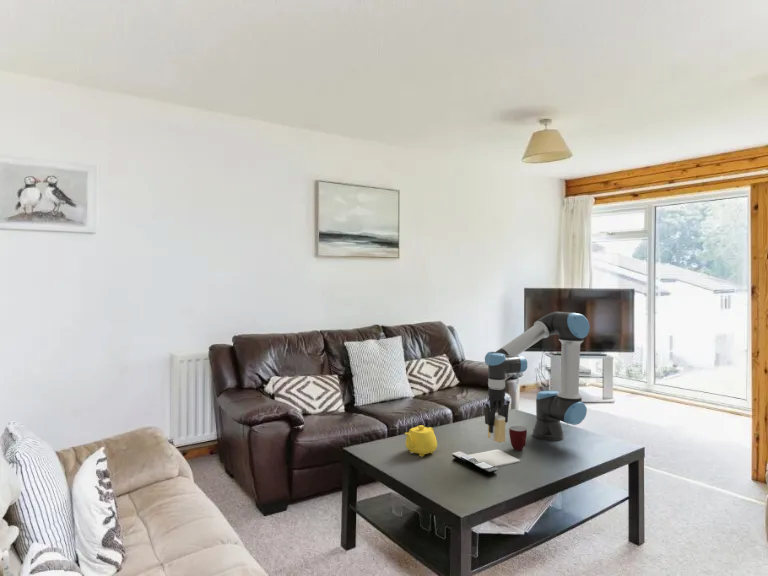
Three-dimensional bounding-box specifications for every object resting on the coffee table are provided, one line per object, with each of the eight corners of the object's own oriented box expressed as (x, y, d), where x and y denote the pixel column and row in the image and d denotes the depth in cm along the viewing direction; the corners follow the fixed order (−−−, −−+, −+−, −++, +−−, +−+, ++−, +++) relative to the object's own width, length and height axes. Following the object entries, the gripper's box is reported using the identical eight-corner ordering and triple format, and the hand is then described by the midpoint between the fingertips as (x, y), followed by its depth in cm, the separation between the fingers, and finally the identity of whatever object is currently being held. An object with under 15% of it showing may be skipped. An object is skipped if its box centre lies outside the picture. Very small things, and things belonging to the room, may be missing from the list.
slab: (493, 436, 231) (494, 412, 231) (505, 441, 224) (505, 417, 224) (487, 437, 230) (487, 413, 230) (498, 442, 223) (498, 418, 222)
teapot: (444, 451, 236) (444, 425, 236) (415, 462, 222) (415, 434, 222) (422, 444, 246) (422, 419, 246) (393, 455, 232) (393, 427, 232)
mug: (533, 452, 234) (533, 431, 234) (518, 454, 231) (518, 433, 231) (520, 445, 244) (520, 425, 244) (505, 447, 241) (505, 427, 241)
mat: (498, 450, 237) (498, 449, 237) (520, 461, 223) (520, 460, 223) (460, 457, 229) (460, 456, 229) (481, 469, 214) (481, 468, 214)
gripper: (506, 384, 233) (505, 434, 234) (476, 387, 226) (476, 439, 227) (516, 387, 226) (516, 438, 227) (486, 391, 219) (486, 444, 220)
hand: (496, 438), depth 227 cm, fingers closed on slab, 3 cm apart
